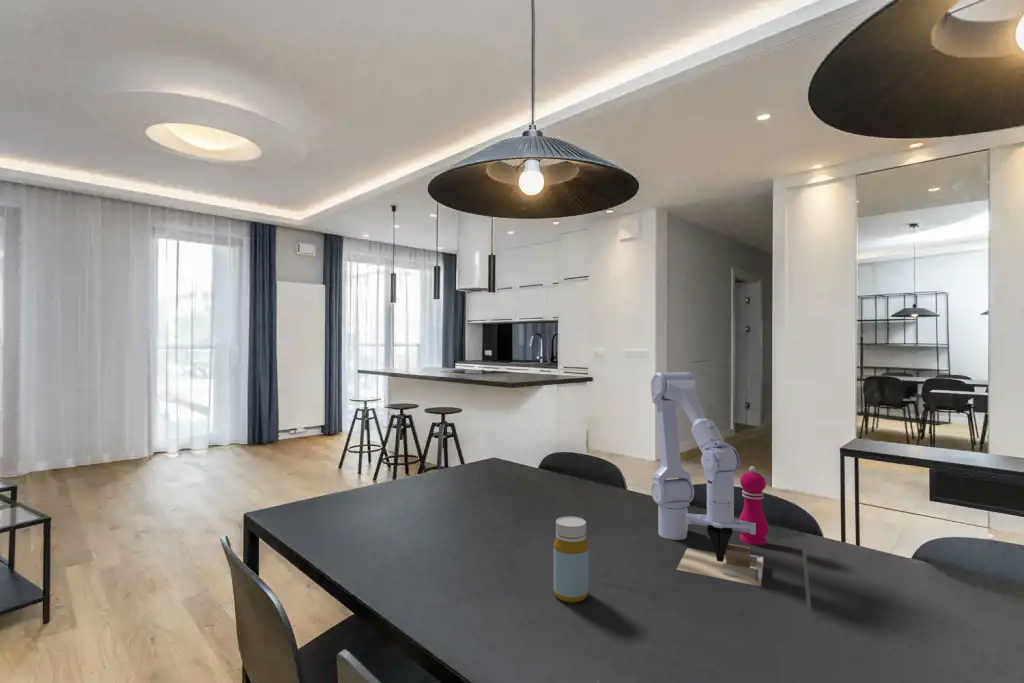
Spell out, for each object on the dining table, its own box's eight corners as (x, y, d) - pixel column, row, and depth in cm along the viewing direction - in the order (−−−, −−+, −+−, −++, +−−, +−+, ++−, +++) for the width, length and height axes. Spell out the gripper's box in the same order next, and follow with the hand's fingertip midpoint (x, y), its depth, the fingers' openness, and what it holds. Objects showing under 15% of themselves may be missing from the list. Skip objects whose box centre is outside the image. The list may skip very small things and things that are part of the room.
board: (687, 551, 126) (687, 539, 126) (763, 566, 118) (763, 553, 118) (676, 573, 114) (676, 560, 114) (760, 591, 106) (760, 576, 106)
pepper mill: (772, 550, 127) (772, 470, 127) (741, 548, 129) (741, 468, 129) (764, 540, 134) (763, 463, 134) (734, 537, 136) (734, 462, 136)
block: (728, 563, 117) (728, 543, 117) (749, 567, 115) (749, 547, 115) (726, 570, 113) (726, 550, 113) (748, 575, 111) (748, 554, 111)
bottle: (584, 586, 108) (584, 515, 108) (591, 603, 101) (591, 527, 101) (551, 587, 107) (552, 515, 108) (555, 604, 100) (556, 527, 101)
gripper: (683, 500, 116) (684, 559, 116) (754, 509, 109) (754, 573, 109) (689, 492, 122) (689, 549, 122) (756, 501, 115) (756, 561, 115)
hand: (720, 560), depth 116 cm, fingers closed
